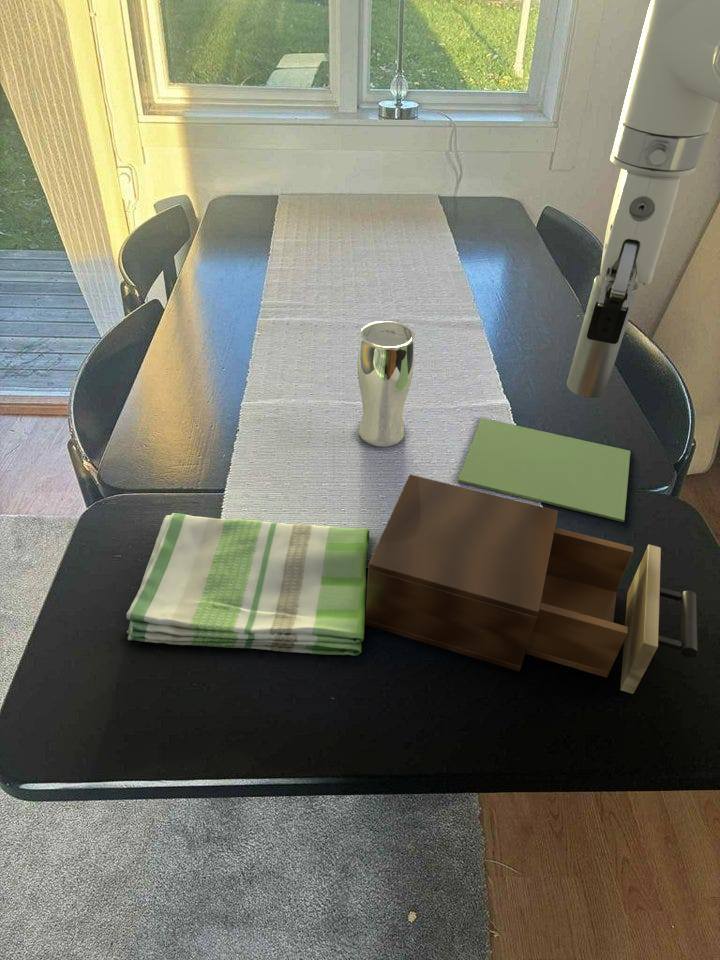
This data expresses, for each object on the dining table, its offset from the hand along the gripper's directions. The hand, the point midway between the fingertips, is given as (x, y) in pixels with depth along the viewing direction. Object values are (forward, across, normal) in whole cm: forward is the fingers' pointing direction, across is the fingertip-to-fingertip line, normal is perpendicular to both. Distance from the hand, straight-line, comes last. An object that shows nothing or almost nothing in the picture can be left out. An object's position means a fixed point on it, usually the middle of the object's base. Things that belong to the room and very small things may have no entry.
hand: (604, 327), depth 75 cm
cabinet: (+21, -24, +8) cm, 33 cm away
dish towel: (+21, -30, +28) cm, 46 cm away
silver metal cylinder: (+8, 0, 0) cm, 8 cm away
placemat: (+21, +1, +2) cm, 21 cm away
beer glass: (+21, 0, +24) cm, 32 cm away
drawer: (+20, -24, -5) cm, 32 cm away
